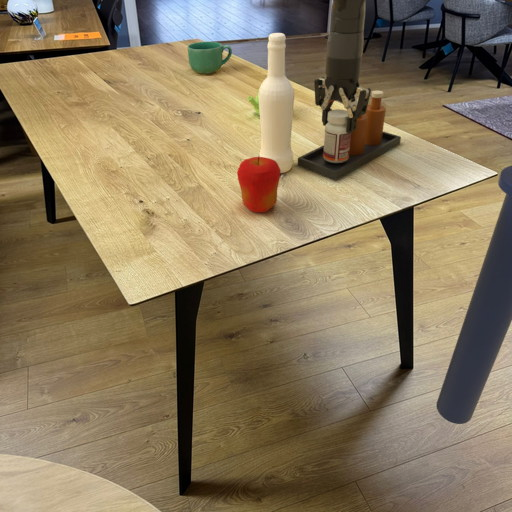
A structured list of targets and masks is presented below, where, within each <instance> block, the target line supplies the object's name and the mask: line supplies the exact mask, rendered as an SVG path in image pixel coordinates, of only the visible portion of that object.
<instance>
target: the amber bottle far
mask: <svg viewBox="0 0 512 512" xmlns="http://www.w3.org/2000/svg"><path fill="white" fill-rule="evenodd" d="M370 97H371V101H370V104H368V106H367V110H366V114H365V115H367V116H368V120H367V128H366V136H365V145H370V146H375V145H379V144H381V140H382V133H383V132H384V127H385V126H384V124H385V118H386V112H387V107H386V106H384V105H382V100H383V99H382V98H383V97H384V91H382V90H378V89H377V90H371V93H370Z"/></svg>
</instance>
